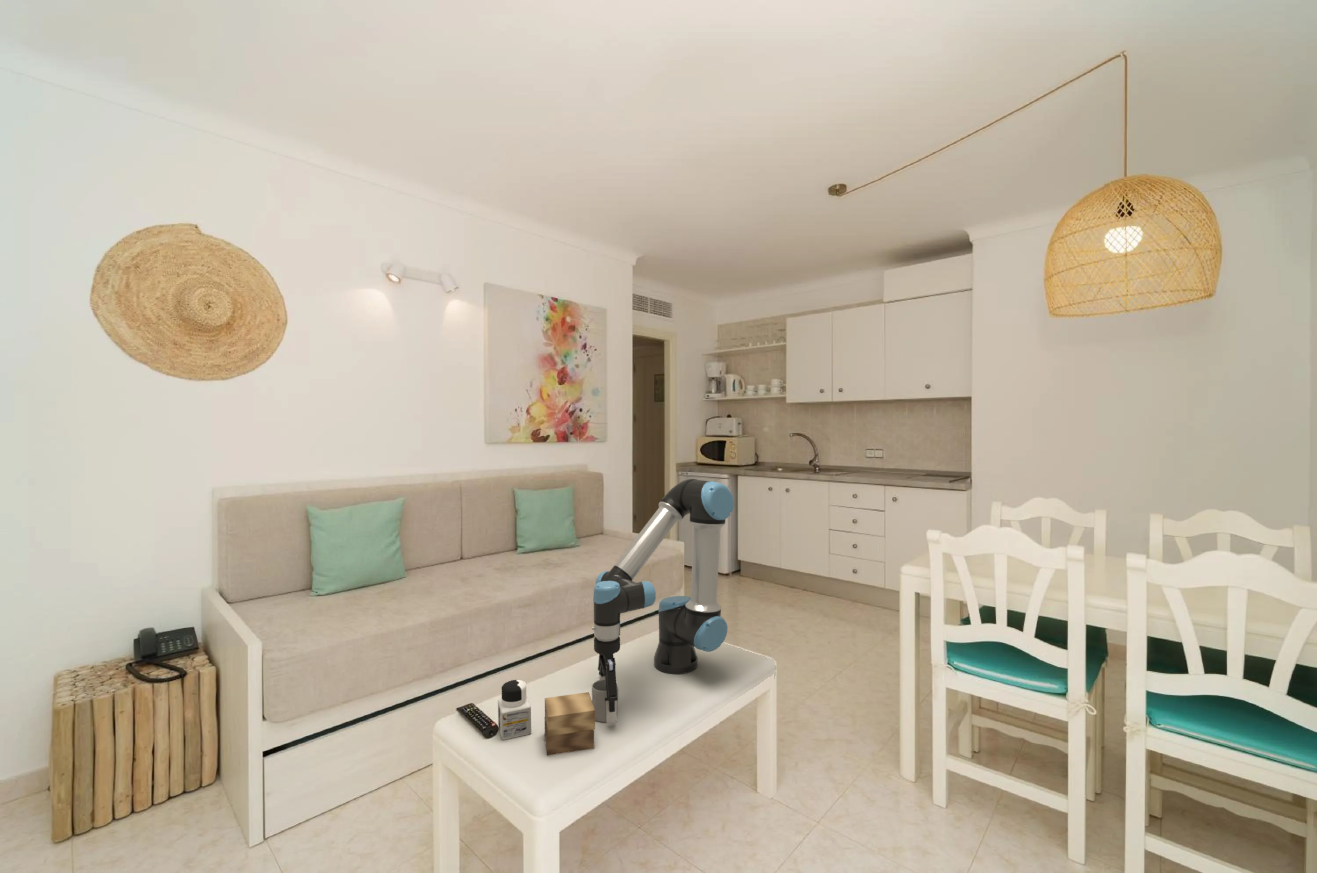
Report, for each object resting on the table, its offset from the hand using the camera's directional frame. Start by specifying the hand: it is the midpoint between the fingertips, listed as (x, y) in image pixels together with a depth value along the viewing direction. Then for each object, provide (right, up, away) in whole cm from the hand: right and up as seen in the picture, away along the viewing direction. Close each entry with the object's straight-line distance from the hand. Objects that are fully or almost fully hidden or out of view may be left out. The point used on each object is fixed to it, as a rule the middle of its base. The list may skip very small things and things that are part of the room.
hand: (607, 709), depth 160 cm
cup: (0, -2, 0) cm, 2 cm away
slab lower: (-9, -2, -14) cm, 16 cm away
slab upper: (-9, +3, -13) cm, 16 cm away
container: (-25, -2, -8) cm, 26 cm away
